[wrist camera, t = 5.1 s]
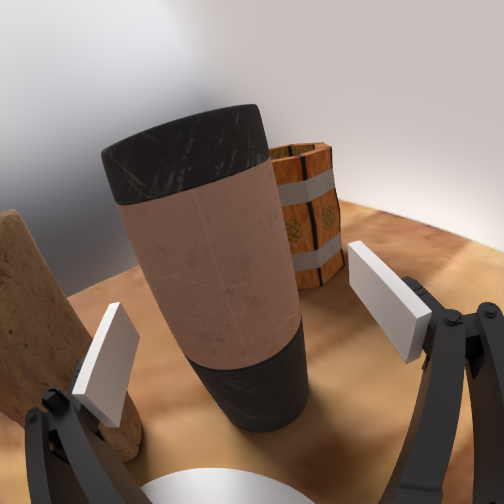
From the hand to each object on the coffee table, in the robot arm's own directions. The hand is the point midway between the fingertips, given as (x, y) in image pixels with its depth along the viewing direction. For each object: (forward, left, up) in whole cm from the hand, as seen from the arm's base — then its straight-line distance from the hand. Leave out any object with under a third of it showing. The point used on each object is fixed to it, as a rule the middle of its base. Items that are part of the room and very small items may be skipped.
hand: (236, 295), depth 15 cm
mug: (-4, +23, -11) cm, 26 cm away
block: (-14, -9, -11) cm, 20 cm away
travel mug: (-1, 0, -11) cm, 11 cm away
